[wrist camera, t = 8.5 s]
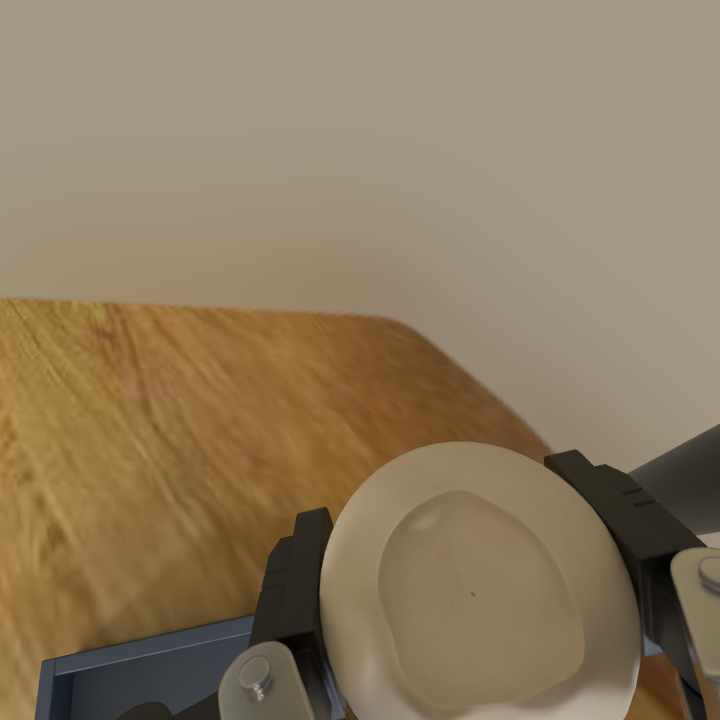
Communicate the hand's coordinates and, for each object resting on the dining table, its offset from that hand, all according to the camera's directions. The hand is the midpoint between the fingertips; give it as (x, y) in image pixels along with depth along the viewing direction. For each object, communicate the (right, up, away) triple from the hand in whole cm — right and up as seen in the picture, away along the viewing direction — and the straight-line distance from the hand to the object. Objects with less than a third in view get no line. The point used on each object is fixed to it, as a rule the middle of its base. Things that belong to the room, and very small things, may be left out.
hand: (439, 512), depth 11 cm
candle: (+1, -4, +4) cm, 6 cm away
